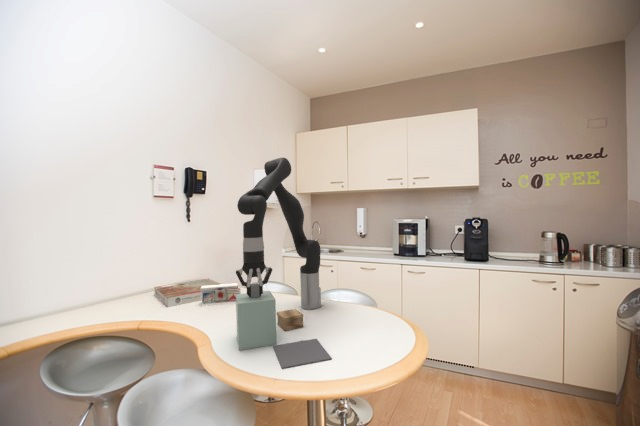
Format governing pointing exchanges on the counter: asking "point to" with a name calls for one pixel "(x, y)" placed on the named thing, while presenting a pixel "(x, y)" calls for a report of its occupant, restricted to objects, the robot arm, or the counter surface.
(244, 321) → the cover
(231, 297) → the cigarette display
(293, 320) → the cardboard box
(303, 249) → the robot arm
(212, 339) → the counter surface
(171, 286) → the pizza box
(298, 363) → the mat
